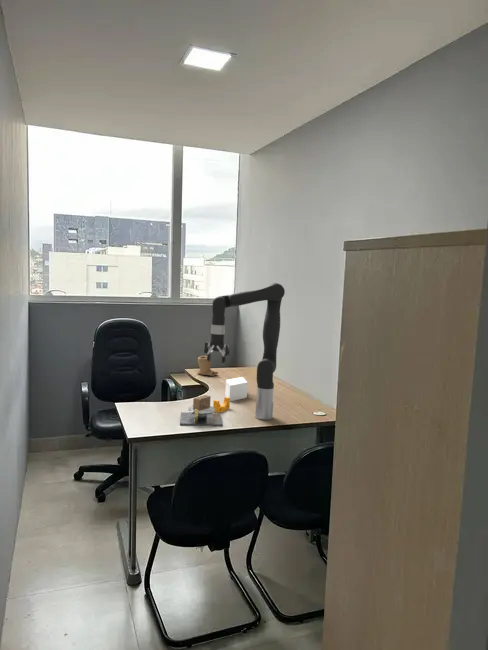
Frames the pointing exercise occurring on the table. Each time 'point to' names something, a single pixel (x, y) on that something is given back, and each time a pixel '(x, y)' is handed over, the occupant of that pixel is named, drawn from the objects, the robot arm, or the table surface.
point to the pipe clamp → (222, 407)
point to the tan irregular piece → (205, 366)
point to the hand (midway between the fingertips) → (216, 362)
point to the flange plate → (207, 411)
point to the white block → (236, 388)
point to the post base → (201, 419)
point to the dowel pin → (196, 415)
